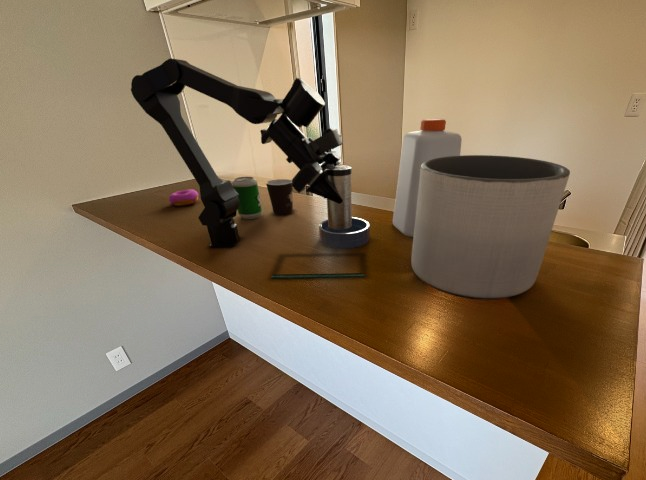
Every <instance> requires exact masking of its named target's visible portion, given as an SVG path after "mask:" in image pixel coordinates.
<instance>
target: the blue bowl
mask: <svg viewBox="0 0 646 480" xmlns="http://www.w3.org/2000/svg"><path fill="white" fill-rule="evenodd" d="M318 232H319V234H318V235H319V242H320V243H321V244H322V245H323V246H326V247H328V248H332V249H339V250H340V249H343V250H344V249H346V250H347V249H354V248H359V247H362V246H364V245H366V244H368V242H369V241H370V223H369V221H367V220H365V219H363V218H359V217H353V216H352V226H351V227H350V228H347V229H342V230H337V229H332V228H330V227H329V226H328V219H325V220H323V221H321V222H320V223H319V225H318Z"/></svg>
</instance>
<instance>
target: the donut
mask: <svg viewBox="0 0 646 480" xmlns="http://www.w3.org/2000/svg"><path fill="white" fill-rule="evenodd" d="M199 194H200V193H199V192H197V190H195V189H192V188H191V189H183V190H179V191H175V192H173V193H171V194H170V195H169V196H168V200H169V202H170V204H171V205H173V206H175V207H183V206H188V205H193V204H196V203H197V202H198V200H199V196H200V195H199Z"/></svg>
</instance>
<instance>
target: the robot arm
mask: <svg viewBox="0 0 646 480" xmlns="http://www.w3.org/2000/svg"><path fill="white" fill-rule="evenodd" d="M130 83H131V88H130V92H131V95H132V97H133V99H134V100H135V102H137V104H138V105H139V106H140V108H141V109H142V110H143V111H144V113H145V114H146V115H148V116H149V117H150V118H152V119H153V120H154V121H156V122H157V123H158V124H160V126H161V128H162V129H163V130H164V132H165V133H166V135H167V136H168V138H169V140H170V141H171V143H172V145H173V146H174V148H175V149H176V151H177V153H178V154H179V156H180V157H181V159H182V161H183V162H184V164H185V166H186V167H187V169H188V170H189V172H190V173H191V175H192V177H193V178H194V180H195V181H196V183H197V184H198V187H199V194H200V195H199V196H200V200H201V203H202V204H203V207H204V208H203V209H202V211H201V213H200V214H199V215H198V220H199V222H200V223H201V226H205V227H206V229H207V232H208V236H209V239H210V243H209V244H208V247H209V248H232V247H235V246H236V244H237V243H238V242H239V241H240V239H241V236H240V233H239V229H238V225H237V224H236V223H235V219H234V218H236V217H237V214H238V208H239V204H240V201H239V198H238V196H239V194H238V193H237V192H236V191H235V189H234V187H233V184H232V183H233V182H232V181H230V180H229V179H227V180H226V181H224V180H223V179H222V178H220V177H219V176H218V175H217V173H216V171H215V170H214V168H213V167H212V165H211V163H210V161H209V159H208V158H207V156H206V155H205V153H204V151H203V149H202V147H201V146H200V144H199V143H198V141H197V139H196V137H195V136H194V135H193V133H192V131H191V130H190V128H189V126H188V124H187V123H186V121H185V119H184V118H183V114H182V105H181V100H180V99H179V95H180V94H183V93H184V91H185V89H186V87H188V88H190V89H192V90H193V91H196V92H198V93H201V94H203V95H205V96H207V97H210V98H212V99H214V100H216V101H218V102H220V103H222V104H225V105H226V106H228V107H230V108H231V110H233V111H234V112H235V113H236V114H237V115H239V116H240V117H241V118H243V119H244V120H245V121H247V122H248V123H250V124H253V125H260V124H268V123H269V125H268V126H267V128H264V129H260V131H259V132H260V135H261V136H260V144H262V145H266V144H268V143H272V142H273V143H274V144H275V145H276V146H277V147H278V149H279V150H280V151H281V152H283V154H284V155H285V156H286V158H285V161H286V162H287V163H288V164H291V163H293V164H294V165H295V166H296V167H297V169H298V171H297V173H296V174H295V175H294V176H293V178H292V179H291V180H292V187H293V190H295V191H296V192H297V193H298V194H301V193H302V192H303V191H304V190H305V189H306V186H307V185H308V187H307V189H306V190H305V192H306V193H311V194H313V195H316V196H319V197H321V198H323V199H326V200H327V199H329V200H331V201H333V202H336V203H338V204H341V203H342V202H343V199H342V198H341V196H340V195H339V193H338V192H337V191H336V189H335V188H334V186H333V185H332V184H331V182H330V181H329V179H328V169H325V167H328V166H335V165H341V164H340V161H341V159H342V156H341V155H340V154H339V152H337V151H335V150H334V149H336V148H338V147H340V146H343V145H344V144H343V141H342V134H341V132H339V130H338V129H337V128H335V129H334V128H333V127H332V126H331V127H328V128H327V129H325V130H323V135H321V136H319V137H317V138H315V139H314V138H313V137H312V136H307V137H306V135H305V134H304V133H303V132H302V131H301V130H300V129H299V128H302V127H304V128H308V127H309V126H310V125H311V123H312V122H313V121H314V120H315V118H316V117H317V116H318V114H319V113H320V112H321V110H322V109H323V108H324V107H325V105H326V102H325V100H324V98H323V97H322V96H321V95H320V94H319V92H318V91H317V90H315V89H314V88H312V87H311V85H309V84H308V83H306V82H305V81H304V80H303V79H302V78H300V77H296V78H295V79H294V81H293V82H292V84H291V87H290V89H289V90H288V92H287V93H286V95H285V96H284V98H276V97H275V95H273V94H272V93H270V92H269V91H266V90H260V89H257V88H251V87H246V86H241V85H237V84H236V83H233V82H231V81H228V80H226V79H225V78H222V77H219V76H217V75H215V74H213V73H211V72H209V71H206V70H204V69H203V68H200V67H197V66H195V65H193V64H191V63H189V62H188V61H187V60H184V59H178V58H168V59H166V60H165V61H164V62H162V63H161V64H160V65H157V66H156V67H153V68H151V69H148V70H147V71H145V72H143V73H142V74H136V75H134V76H133V78H132V79H131V82H130ZM278 115H280V116H279V118H278V119H276V118H277V117H278ZM330 150H331V151H330ZM328 151H329V152H328Z"/></svg>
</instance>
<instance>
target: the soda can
mask: <svg viewBox="0 0 646 480" xmlns="http://www.w3.org/2000/svg"><path fill="white" fill-rule="evenodd" d="M231 183H232V185H233V187H234V189H235V191H236V192H237V193H238V194H239V196H238V198H239V201H240V204H239V208H238V210H237V214H238V215H239V216H240V217H241V218H242V219H243V220H255V219H257V218H260V217H261V215H262V213H263V209H262V203H261V198H260V192H259V185H258V181H257V179H255V178H254V177H253V176H239V177H236V178H234V180H233V181H232V182H231Z"/></svg>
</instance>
